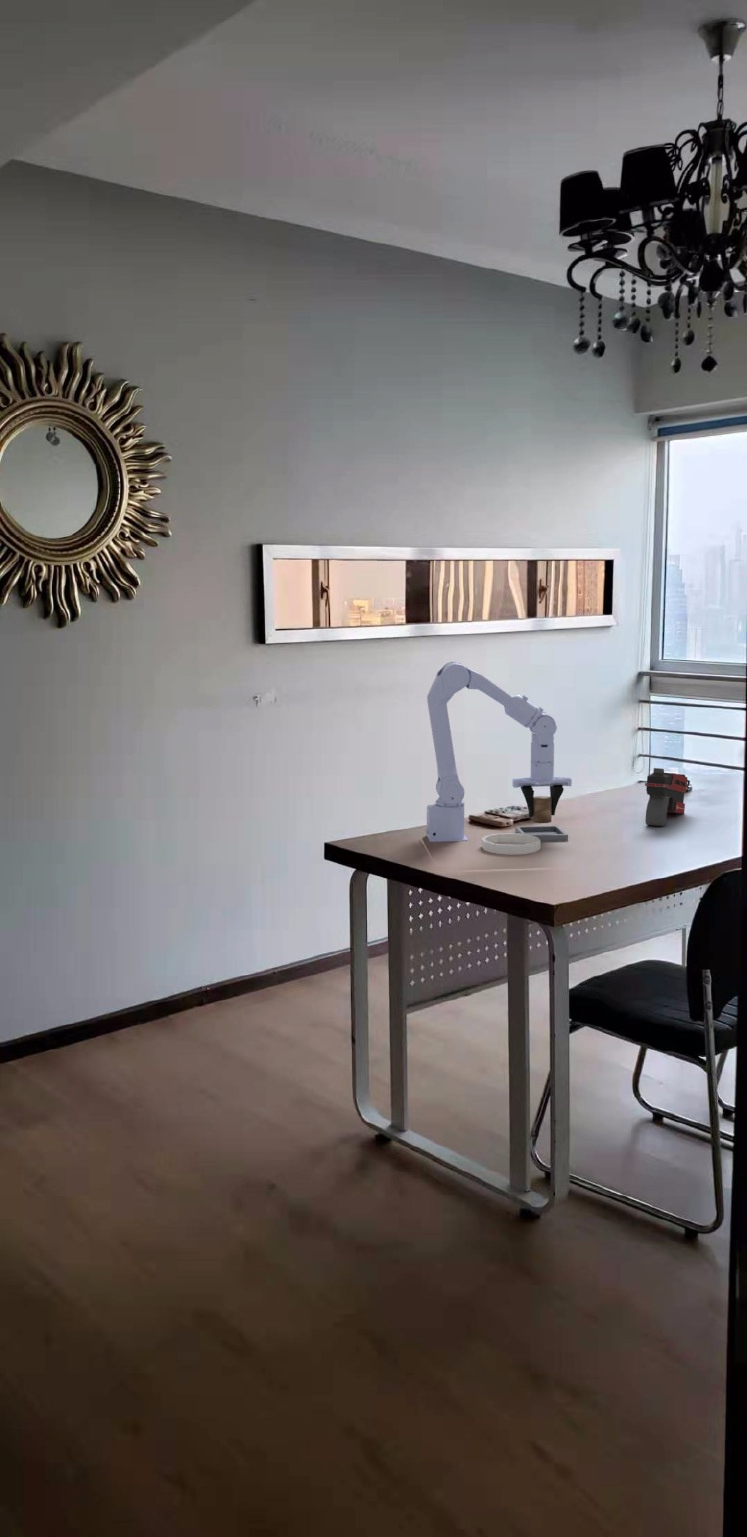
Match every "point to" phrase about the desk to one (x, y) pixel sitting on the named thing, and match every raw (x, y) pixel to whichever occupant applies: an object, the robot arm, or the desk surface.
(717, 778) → the desk surface
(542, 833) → the tray
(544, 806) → the cylinder
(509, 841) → the bowl
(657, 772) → the toy gun
